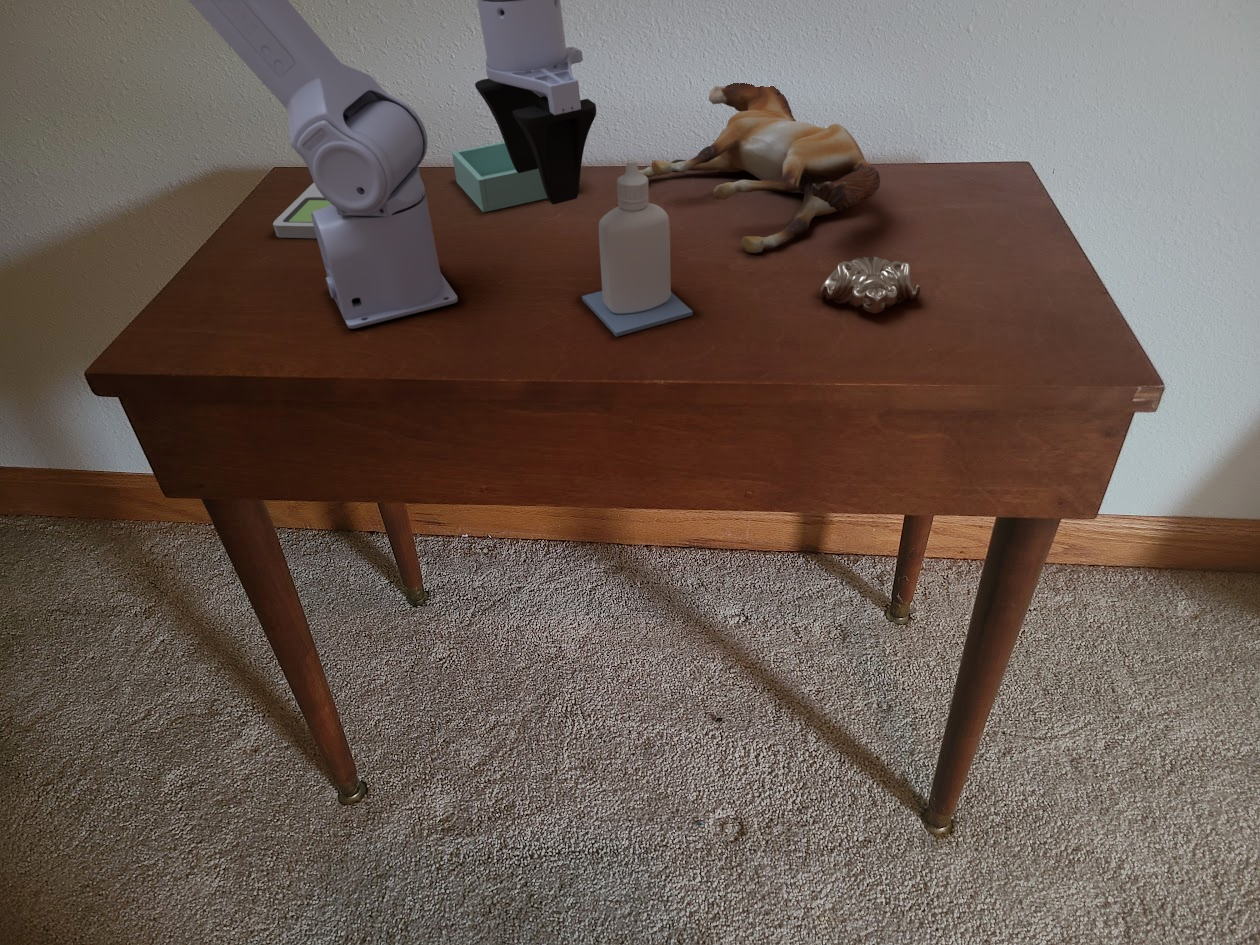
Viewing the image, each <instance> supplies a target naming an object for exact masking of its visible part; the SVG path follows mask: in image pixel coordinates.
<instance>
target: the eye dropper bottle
mask: <svg viewBox="0 0 1260 945" xmlns="http://www.w3.org/2000/svg"><path fill="white" fill-rule="evenodd" d="M638 170H639V167H638V163H637V160H636V159H627V161H626V168H625V172H624V174H623V175H622V174H621V175H620V176H618V177H617V179H616V194H617V206H616V207H613V209H611V210H610V211H608V212H607V213H606V214H604V215H603V216H602V217H601V218H600V220H599V222H598V245H599V261H600V262H599V264H600V276H601V277H600V278H601V291H602V295H603V302H604V304H605V305H606V307H607V308H608V309H609V310H610V311H611V312H613V313H616V314H627V313H636V312H641V311H645V310H649V309H652V308H655V307H657V306H659V305H661V304H663V303H665V302H667V301H668V300H669V298H670V296H671V292H672V290H671V288H672V287H671V286H672V285H671V284H672V282H671V279H672V278H671V277H672V276H671V274H672V273H671V226H670V217H669V214H668V213H667V212H666V210H664V208H662V207H661V206H659V205H657V204H655V203H651V202H650V194H649V178H648V177H646V176H645V175H642V174H640V173H639V171H638Z"/></svg>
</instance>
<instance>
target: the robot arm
mask: <svg viewBox="0 0 1260 945" xmlns="http://www.w3.org/2000/svg"><path fill="white" fill-rule="evenodd" d="M188 2H189V3H190V4H191V5H192V6H193V7H194V8H195V9H196V11H197V12H198V13H199V14H200V15H201V16H202V18H204V20H205V21H206V22H207V23H208V24H209V25H210V26H211V27H212V28H213V29H214V30H215V31H216V33H217V34H218V35H219V36H220V37H221V38H222V40H224V41H225V42H226V44H227V45H228V46H229V47H230V48H231V50H233V52H234V53H235V54H236V55H237V56H238V57H239V58H240V59H241V60H242V62H243V63H244V64H245V65H246V66H247V67H248V68H249V69H250V70H251V72H252V73H253V74H254V75H255V76H256V77H257V78H258V79H259V80H260V81H261V82H262V84H263V85H264V86H265V87H266V88H267V89H268V90H269V91H270V93H271V94H272V95H273V96H274V97H275V98H276V100H278V101H279V103H280V104H281V105H282V106H283V107H284V108H285V109H286V111H287V117H288V131H289V132H288V134H289V142H290V146H291V147H292V149H293V150H294V151H295V152H296V153H297V154H298V155H299V156H300V158H301V159H302V160H303V162H304V163H305V165H306V167H307V168H308V170H309V173H310V176H311V178H312V181H313V183H315V185H316V187H317V189H318V190H319V192H320V193H321V194H322V195H323V197H324V198H325V199H326V200H327V201H328V202H330V203H331V205H329V206H327V207H325V208H322V209H319V210H316V211H314V212H312V213H311V216H312V221H313V225H314V229H315V233H316V237H317V238H316V240H317V243H318V247H319V252H320V255H321V258H322V262H323V266H324V269H325V273H326V277H325V281H326V282H325V283H326V286H327V289H328V292H329V294H330V297H331V299H334V301H335V303H336V305H337V307H338V310H339V311H340V313H341V314H340V315H341V316H342V318H343V320H344V322H345V324H346V326H347V328H348V329H350V330H354V329H359V328H362V327H366V326H371V325H375V324H380V323H382V322H387V321H391V320H394V319H399V318H402V317H407V316H410V315H413V314H414V315H415V314H418V313H421V312H426V311H431V310H434V309H437V308H438V309H439V308H441V307H446V306H450V305H453V304H456V303H458V301H459V299H458V295H457V293H456V292H455V290H453V288H452V287H451V285H450V283H448V281H447V280H446V278H445V277H444V275H443V274H442V272H441V269H440V268H441V267H440V263H439V257H438V253H437V246H436V242H435V236H434V230H433V225H432V220H431V215H430V209H429V203H428V199H427V193H426V188H425V184H424V181H423V179H422V178H421V173H420V172H421V171H420V167H419V166H420V165H421V164H422V162H423V160H424V159H425V157H426V154H427V152H428V150H427V149H428V144H429V143H428V142H429V141H428V134H427V130H426V127H425V125H424V123H423V121H422V119H421V117H420V116H419V115H418V114H417V112H416V111H415V110H414V109H413V108H412V107H411V106H410V105H409V104H407V103H405V101H402V100H401V99H398V98H397V97H394V96H393V95H391V94H389V93H388V92H387V91H386V90H384V89H383V87H382V86H381V85H380V84H379V83H378V82H377V81H376V79H375V78H374V77H373V76H372V75H370V74H369V73H365V72H363V71H361V70H359V69H356V68H353V67H350V66H349V65H347V64H344V63H342V62H341V61H340V59H338V57H337V56H336V55H335V54H334V53H333V52H332V50H331V49H330V48H329V47H328V46H327V44H326V43H325V42H324V40H322V38H320V37H319V35H318V34H317V33H316V31H315V30H314V29H313V28H312V27H311V26H310V24H309V23H308V22H307V21H306V20H305V19H304V17H303V16H302V15H301V13H299V11H298V10H297V9H296V7H294V6H293V5H292V3H291V2H290V1H289V0H188ZM476 3H477V8H478V14H479V20H480V26H481V33H482V38H483V44H484V50H485V56H486V57H485V58H486V60H485V71H486V76H487V78H484V79H480V80H477V81H476V82H475V83H474V87H475V89H476V91H477V92H478V93H479V94H480V96H481V98H482V99H483V100H484V102H485V104H486V105H487V107H488V109H489V110H490V113H491V114H492V117H493V118H494V120H495V122H496V124H497V127H498V129H499V131H500V134H501V137H502V140H503V142H505V145H506V148H507V150H508V153H509V156H510V158H511V161H512V163H513V165H514V167H515V169H516V171H517V172H518V173H523V172H527V171H531V170H535V169H539V173H540V176H541V180H542V184H543V187H544V190H545V193H546V195H547V197H548V198H547V200H548V201H549V203H550V204H551V205H558V204H562V203H565V202H570V201H574V200H577V199H578V196H579V190H580V180H581V171H582V162H583V155H584V150H585V146H586V142H587V139H588V135H589V132H590V129H591V127H592V124H593V122H594V120H595V118H596V116H597V104H596V103H595V102H594V101H592V100H591V99H589V98H583V99H581V95H580V86H579V80H578V79H577V78H576V77H575V76H574V75H573V70H572V65H575V64H578V63H582V62H583V61H584V56H583V51H582V50H581V49H579V48H578V47H575V46H568V47H567V46H566V36H565V28H564V20H563V11H562V5H561V0H476Z"/></svg>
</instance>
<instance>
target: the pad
mask: <svg viewBox="0 0 1260 945" xmlns="http://www.w3.org/2000/svg"><path fill="white" fill-rule="evenodd" d="M581 300H582V302H583V303H584V304H585V305H586V306H587V307H588V308H589V309H590V310H591V311H592V312H593V314H595V316H596V317H597V318H598V319H599V320H600V321H601V323H602V324H604V325H605V327H607V328H608V330H609V331H610V332H611V333H612V334H613V335H614V336H615V337H616V338H617V337H621V336H624V335H628V334H632V333H635V332H638V331H642V330H646V329H649V328H653V327H656V326H660V325H664V324H668V323H671V322H674V321H678V320H682V319H685V318H688V317H692V316H693V314H694V311H693V310H692V309H691V308H689V306H688V305H686V304H685V302H683V301H682V300H681V299H680V298H678V296H676V295H675V294H674V293H673V292H672V291H671V296H670V298H669V300H668V301H667V302H665V303H663V304H661V305H659V306H657V307H655V308H652V309H649V310H645V311H641V312H636V313H627V314H616V313H613V312H611V311H610V310H609V309H608V308H607V307H606V305H605V304H604V302H603V295H602V290H599V291H595V292H591V293H587V294H583V295H582V296H581Z"/></svg>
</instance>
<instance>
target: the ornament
mask: <svg viewBox="0 0 1260 945" xmlns="http://www.w3.org/2000/svg"><path fill="white" fill-rule="evenodd" d="M911 283H912V282H911V265H910V263H908V262H905V261H904V262H901V261H899V260H894V261H892V262H891V261H889V260H887V259H886V258H880V257H877V256H871V257H865V256H859V257H857V258H853V259H850V260H849V261H847V260H842V261H840V262H839V263H838V264H837V267H836V268H835V269H834V270H833V271H832V272H831V273H830V274H829V276H827V277H826V279H825V280H824V282H823V283H822V285H821V287H820V288H819V292H818V295H819V298H822V299H824V298H825V299H826V300H829V301H830V300H832V301H833V302H834V303H836V304H838V305H843V304H848V303H850V304H851V305H852V306H854V307H856V308H857V307H860V306H862V309H863V310H864V311H866V312H868V313H871V314H878V313H879V314H880V313H881V312H883V311H885V308H890V307H892V306H894V305H900V304H902V303H903V301H904V300H908V299H909V300H910V301H912V300H914V299H918V298H919V297H920V294H921V285H920V284H916V285H914V287H913V286H912V285H911Z"/></svg>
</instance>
